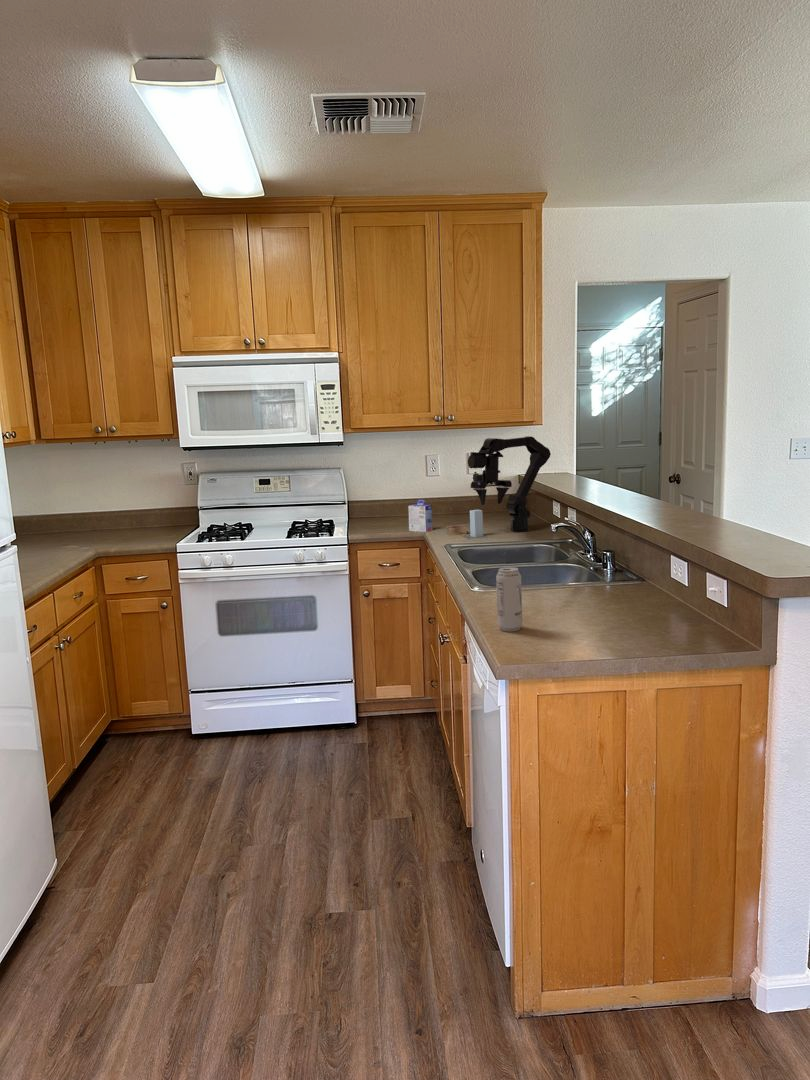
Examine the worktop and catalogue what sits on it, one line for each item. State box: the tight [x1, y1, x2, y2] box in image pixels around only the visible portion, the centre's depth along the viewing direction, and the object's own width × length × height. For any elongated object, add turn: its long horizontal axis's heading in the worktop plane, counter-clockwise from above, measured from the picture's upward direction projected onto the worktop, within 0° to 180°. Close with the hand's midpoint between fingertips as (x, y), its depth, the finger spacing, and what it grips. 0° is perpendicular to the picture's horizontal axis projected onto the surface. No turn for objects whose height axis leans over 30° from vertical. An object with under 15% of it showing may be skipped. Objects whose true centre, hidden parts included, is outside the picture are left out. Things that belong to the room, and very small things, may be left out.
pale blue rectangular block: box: [469, 509, 484, 537], centre depth 317 cm, size 4×4×11 cm
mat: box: [462, 534, 488, 540], centre depth 318 cm, size 9×9×1 cm
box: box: [446, 525, 468, 536], centre depth 327 cm, size 8×7×4 cm
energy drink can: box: [495, 566, 523, 632], centre depth 184 cm, size 6×6×15 cm
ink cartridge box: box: [408, 499, 434, 533], centre depth 340 cm, size 10×6×14 cm, turn 53°
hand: (491, 504), depth 322 cm, fingers open, 9 cm apart
